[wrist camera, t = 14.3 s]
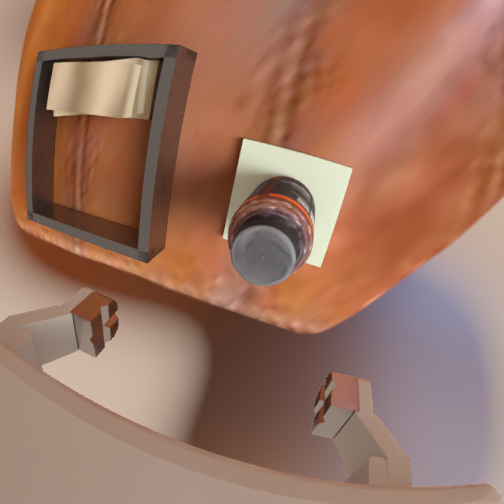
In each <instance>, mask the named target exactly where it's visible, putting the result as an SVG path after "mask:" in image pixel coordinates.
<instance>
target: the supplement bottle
mask: <svg viewBox="0 0 504 504" xmlns="http://www.w3.org/2000/svg"><path fill="white" fill-rule="evenodd" d="M314 224H315V203H314V199H313V196H312V194H311V192H310V191H309V190H308V188H307V187H306V186H305V185H304V184H303V183H301V182H300V181H298V180H296V179H294V178H291V177H286V176H277V177H272V178H269V179H267V180H266V181H264V182H262V183H261V184H260V185H259V186H258V187H257V188H256V189H255V190H254V191H253V192H252V193H251V194H250V196H249V197H248V198H247V199H246V200H245V201H244V202H243V204H242V205H241V206H240V207H239V208H238V209H237V211H236V212H235V213H234V215H233V217H232V219H231V221H230V224H229V228H228V244H229V248H230V251H231V261H232V264H233V266H234V268H235V270H236V271H237V272H238V273H239V275H240V276H242V277H243V278H244V279H245V280H247V281H249V282H251V283H253V284H256V285H261V286H269V285H274V284H278V283H280V282H282V281H284V280H285V279H286V278H287V277H288V276H289V275H291V274H293V273H295V272H296V271H298V270H299V269H300V268H301V267H302V266H303V265H304V264H305V263H306V261H307V260H308V258H309V256H310V254H311V251H312V247H313V240H314Z"/></svg>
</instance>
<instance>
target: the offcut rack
mask: <svg viewBox="0 0 504 504" xmlns="http://www.w3.org/2000/svg"><path fill="white" fill-rule="evenodd" d="M196 56H197V53H196V52H194V51H192V50H190V49H187V48H185V47H183V46H181V45H169V44H112V45H95V46H82V47H72V48H63V49H55V50H48V51H42V52H38V57H37V62H36V67H35V73H34V79H33V86H32V93H31V101H30V110H29V121H28V135H27V158H26V190H27V213H28V219H29V220H32V221H34V222H37V223H39V224H42V225H44V226H47V227H50V228H52V229H55V230H57V231H60V232H62V233H65V234H68V235H70V236H73V237H76V238H78V239H81V240H84V241H86V242H89V243H92V244H94V245H97V246H100V247H103V248H105V249H108V250H111V251H114V252H116V253H119V254H122V255H125V256H128V257H131V258H133V259H136V260H139V261H142V262H145V263H148V262H149V261H151V260H152V259H153V258H154V257H155V256H156V255H157V254H158V253H160V252H161V251H162V250H163V249H164V248H165V239H166V230H167V221H168V213H169V205H170V197H171V190H172V183H173V176H174V169H175V163H176V157H177V151H178V145H179V139H180V133H181V127H182V122H183V117H184V111H185V106H186V101H187V96H188V92H189V87H190V82H191V78H192V73H193V69H194V64H195V60H196ZM130 58H141V59H145V60H159V61H163V65H162V70H161V75H160V80H159V84H158V90H157V95H156V100H155V105H154V111H153V117H152V123H151V129H150V136H149V142H148V149H147V157H146V164H145V173H144V181H143V191H142V201H141V212H140V224H139V230H137V229H134V228H130V227H127V226H124V225H121V224H118V223H114V222H111V221H108V220H105V219H102V218H99V217H95V216H92V215H89V214H86V213H83V212H80V211H77V210H73V209H70V208H67V207H64V206H61V205H58V204H55V203H53V173H54V149H55V135H56V124H57V116H54V110H47V102H48V95H49V88H50V82H51V77H52V71H53V66H54V63H62V62H78V61H103V60H121V59H130ZM53 116H54V117H53Z"/></svg>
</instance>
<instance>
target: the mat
mask: <svg viewBox="0 0 504 504" xmlns="http://www.w3.org/2000/svg"><path fill="white" fill-rule="evenodd" d="M351 172H352V167H349V166H346V165H342V164H339V163H336V162H333V161H329V160H326V159H323V158H319V157H316V156H312V155H309V154H305V153H302V152H298V151H294V150H291V149H287V148H283V147H279V146H275V145H271V144H267V143H263V142H259V141H255V140H251V139H246V138H245V139H243V143H242V148H241V153H240V157H239V162H238V166H237V171H236V176H235V181H234V185H233V190H232V195H231V200H230V205H229V209H228V214H227V219H226V224H225V229H224V234H223V239H226V240H228V228H229V224H230V221H231V219H232V217H233V215H234V213H235V212H236V211H237V209H238V208H239V207H240V206H241V205H242V204H243V202H244V201H245V200H246V199H247V198H248V197H249V196H250V194H251V193H252V192H253V191H254V190H255V189H256V188H257V187H258V186H259V185H260V184H261V183H262V182H264V181H266V180H267V179H269V178H272V177H277V176H286V177H291V178H294V179H296V180H298V181H300V182H301V183H303V184H304V185H305V186H306V187H307V188H308V190H309V191H310V192H311V194H312V196H313V199H314V203H315V224H314V240H313V247H312V251H311V254H310V256H309V258H308V260H307V261H306V263H308V264H311V265H315V266H318V267H321V264H322V261H323V259H324V256H325V253H326V250H327V247H328V244H329V241H330V238H331V235H332V232H333V229H334V226H335V223H336V220H337V217H338V214H339V211H340V208H341V205H342V202H343V198H344V195H345V192H346V189H347V185H348V182H349V179H350V176H351Z"/></svg>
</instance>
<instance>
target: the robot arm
mask: <svg viewBox="0 0 504 504" xmlns="http://www.w3.org/2000/svg"><path fill="white" fill-rule="evenodd" d="M117 310H118V303H117V302H116V301H115V300H112V299H111V298H109V297H106V296H104V295H102V294H100V293H98V292H95V291H93V290H91V289H89V288H86V287H84V288H82V289H80V290H79V291H78V292H77V293H76V294H74V295H73V296H72V297H71V298H70V299H68V300H67V301H66V302H65V303H63V304H62V305H61V306H60V307H59V306H53V307H48V308H44V309H39V310H35V311H30V312H26V313H21V314H17V315H12V316H8V317H7V318H6V319H5V320H3V321H2V322H1V323H0V504H504V497H503V496H502V495H501V494H500V493H499V491H498V490H497V489H496V488H495V487H494V486H493V485H492V484H489V483H477V484H467V485H454V486H435V487H434V486H432V487H412V482H411V469H410V459H409V458H408V456H407V455H406V454H405V452H404V451H403V450H402V448H401V447H400V446H399V444H398V443H397V442H396V440H395V439H394V438H393V436H392V435H391V434H390V432H389V431H388V430H387V428H386V427H385V426H384V424H383V423H382V421H381V420H380V419H379V417H378V416H377V415H374V414H373V406H372V395H371V383H370V381H369V380H366V379H361V378H355V377H351V376H346V375H342V374H338V373H333V372H330V373H329V374H328V376H327V377H326V381H325V385H324V386H321V388H320V390H319V392H318V394H317V396H316V399H315V404H314V411H315V413H316V415H315V417H314V418H313V421H312V430H311V434H313V435H317V436H322V437H326V438H331V439H333V442H334V444H335V446H336V448H337V450H338V452H339V454H340V456H341V459H342V461H343V463H344V465H345V467H346V469H347V471H348V473H349V475H350V477H348V478H347V479H346V480H345V481H344V482H338V481H331V480H324V479H318V478H312V477H306V476H301V475H295V474H290V473H286V472H281V471H276V470H272V469H268V468H264V467H260V466H255V465H252V464H248V463H244V462H241V461H237V460H234V459H230V458H227V457H224V456H220V455H218V454H214V453H211V452H208V451H205V450H202V449H199V448H196V447H193V446H191V445H188V444H186V443H183V442H180V441H178V440H175V439H173V438H170V437H168V436H165V435H163V434H160V433H158V432H155V431H153V430H151V429H148V428H146V427H144V426H142V425H139V424H137V423H135V422H133V421H131V420H129V419H127V418H124V417H122V416H120V415H118V414H116V413H114V412H112V411H110V410H108V409H107V408H104V407H103V406H101V405H99V404H97V403H95V402H93V401H91V400H90V399H88V398H86V397H84V396H83V395H81V394H79V393H77V392H76V391H74V390H72V389H71V388H69V387H67V386H66V385H64V384H62V383H61V382H59V381H57V380H56V379H54V378H53V377H51V376H50V375H48V374H47V373H45V372H43V369H42V365H44V364H46V363H49V362H51V361H54V360H56V359H58V358H61V357H63V356H66V355H68V354H71V353H73V352H75V351H78V349H79V350H81V351H83V352H85V353H87V354H89V355H91V356H93V357H97V356H98V355H99V353H100V352H101V351H102V350H103V349H104V348H105V342H107V341H110V340H112V338H113V337H114V336H115V334H116V332H117V330H118V324H119V323H118V321H119V319H118V317H117V316H116V314H115V312H116V311H117Z"/></svg>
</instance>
